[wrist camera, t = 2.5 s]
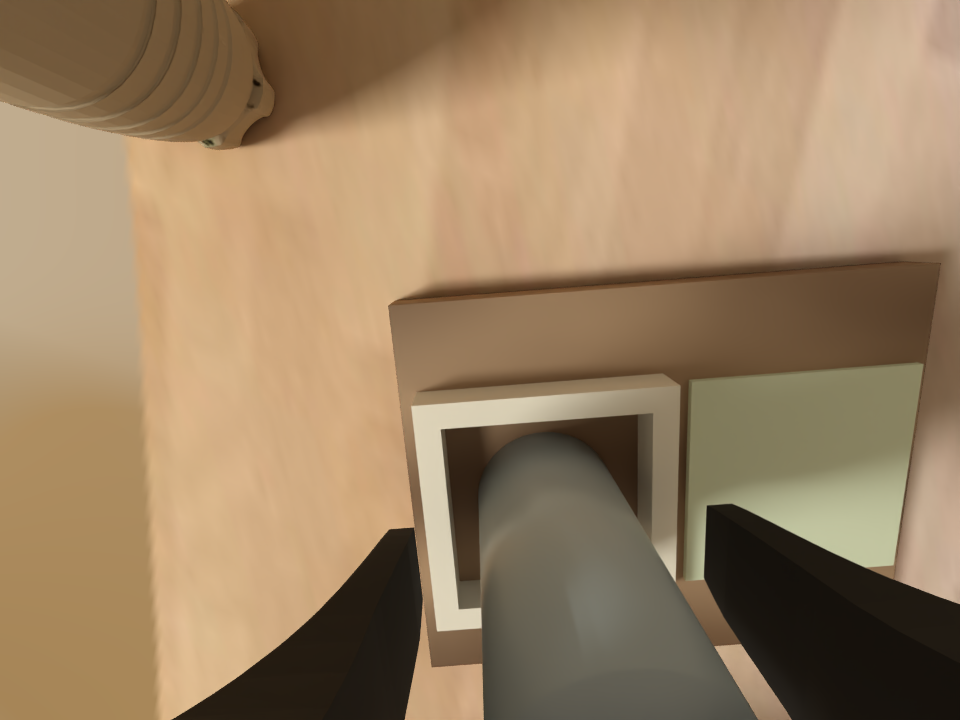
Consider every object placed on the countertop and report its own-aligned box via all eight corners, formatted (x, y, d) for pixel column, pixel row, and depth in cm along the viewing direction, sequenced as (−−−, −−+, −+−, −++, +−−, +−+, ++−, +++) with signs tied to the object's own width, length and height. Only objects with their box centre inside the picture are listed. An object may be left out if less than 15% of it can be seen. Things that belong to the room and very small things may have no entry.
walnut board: (856, 606, 17) (885, 633, 16) (434, 638, 17) (431, 667, 16) (901, 261, 14) (940, 263, 13) (395, 300, 14) (388, 305, 13)
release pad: (888, 561, 15) (893, 565, 15) (683, 576, 15) (685, 581, 15) (916, 362, 14) (923, 363, 13) (688, 379, 14) (692, 381, 13)
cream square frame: (659, 585, 15) (674, 613, 14) (439, 601, 15) (437, 631, 14) (662, 373, 14) (680, 385, 12) (416, 392, 14) (411, 405, 12)
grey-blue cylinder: (611, 547, 15) (763, 878, 7) (483, 557, 15) (495, 899, 7) (610, 426, 14) (783, 657, 6) (473, 437, 14) (474, 680, 6)
